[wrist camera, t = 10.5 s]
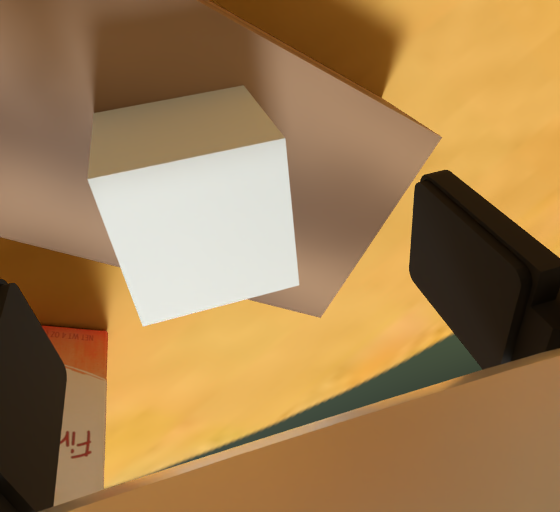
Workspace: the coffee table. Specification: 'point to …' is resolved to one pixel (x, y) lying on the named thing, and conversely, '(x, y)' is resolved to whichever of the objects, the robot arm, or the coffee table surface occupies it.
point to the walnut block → (183, 82)
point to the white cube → (195, 201)
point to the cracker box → (81, 411)
